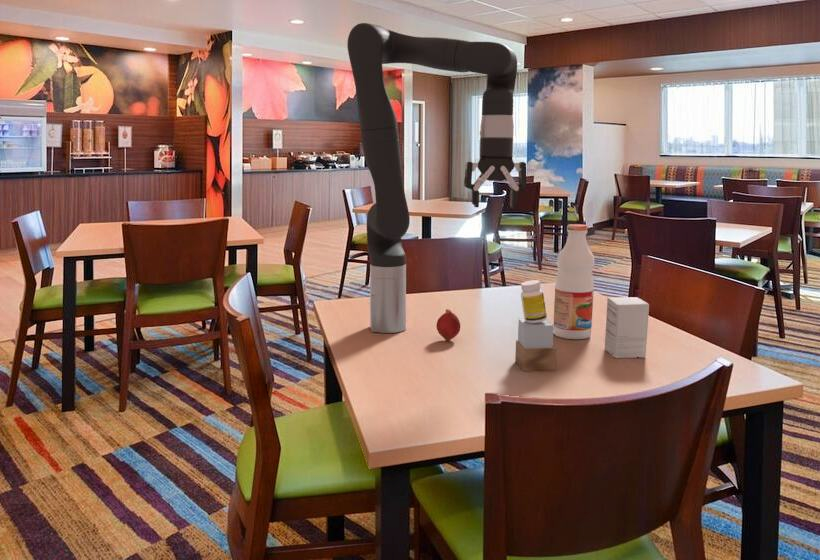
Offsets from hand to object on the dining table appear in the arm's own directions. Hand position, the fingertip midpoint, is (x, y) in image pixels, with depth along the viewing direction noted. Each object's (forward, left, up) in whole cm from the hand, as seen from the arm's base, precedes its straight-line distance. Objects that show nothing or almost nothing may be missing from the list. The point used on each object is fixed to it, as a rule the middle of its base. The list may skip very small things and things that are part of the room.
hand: (494, 207), depth 156 cm
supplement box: (+29, -11, -33) cm, 45 cm away
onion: (-10, +3, -33) cm, 35 cm away
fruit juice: (+22, +5, -33) cm, 40 cm away
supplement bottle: (+6, -18, -23) cm, 30 cm away
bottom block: (+6, -18, -33) cm, 38 cm away
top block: (+6, -18, -28) cm, 34 cm away
